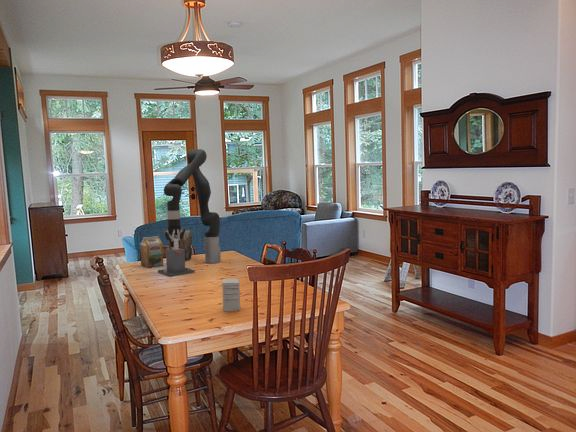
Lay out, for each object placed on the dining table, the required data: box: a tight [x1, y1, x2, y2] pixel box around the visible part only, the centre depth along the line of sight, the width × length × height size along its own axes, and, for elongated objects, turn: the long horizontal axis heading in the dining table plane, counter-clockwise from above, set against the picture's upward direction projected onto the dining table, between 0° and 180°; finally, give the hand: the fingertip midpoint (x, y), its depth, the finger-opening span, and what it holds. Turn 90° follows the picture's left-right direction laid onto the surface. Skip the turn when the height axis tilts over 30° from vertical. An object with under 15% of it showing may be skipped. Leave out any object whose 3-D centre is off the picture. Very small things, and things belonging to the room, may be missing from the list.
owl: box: [174, 229, 193, 262], centre depth 330 cm, size 13×13×20 cm
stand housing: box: [157, 248, 196, 278], centre depth 286 cm, size 16×16×14 cm
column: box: [172, 238, 179, 250], centre depth 286 cm, size 3×3×18 cm
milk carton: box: [139, 235, 164, 269], centre depth 308 cm, size 10×11×19 cm
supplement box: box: [221, 278, 241, 312], centre depth 209 cm, size 7×7×13 cm
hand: (175, 246), depth 285 cm, fingers closed on column, 3 cm apart
